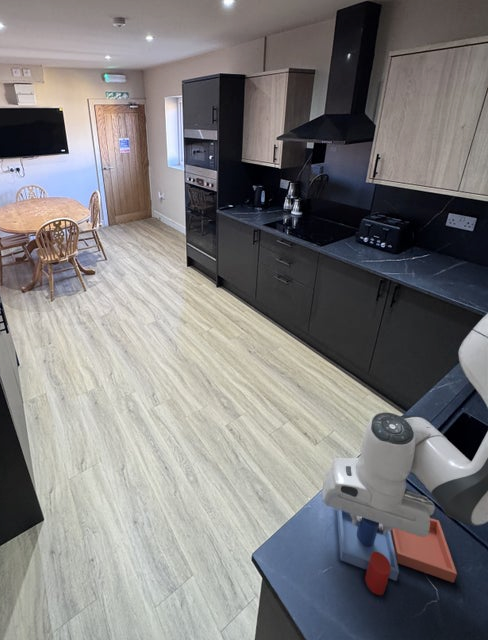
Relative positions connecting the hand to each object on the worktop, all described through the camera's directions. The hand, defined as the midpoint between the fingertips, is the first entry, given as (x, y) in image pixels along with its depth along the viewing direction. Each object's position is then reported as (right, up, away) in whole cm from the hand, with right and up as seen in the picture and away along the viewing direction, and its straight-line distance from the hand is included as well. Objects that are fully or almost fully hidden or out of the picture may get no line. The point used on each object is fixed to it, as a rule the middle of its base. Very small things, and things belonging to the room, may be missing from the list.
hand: (367, 527), depth 72 cm
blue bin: (0, -5, +2) cm, 6 cm away
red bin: (+12, -5, +1) cm, 13 cm away
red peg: (-1, -7, -5) cm, 9 cm away
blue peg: (0, -3, +1) cm, 4 cm away
